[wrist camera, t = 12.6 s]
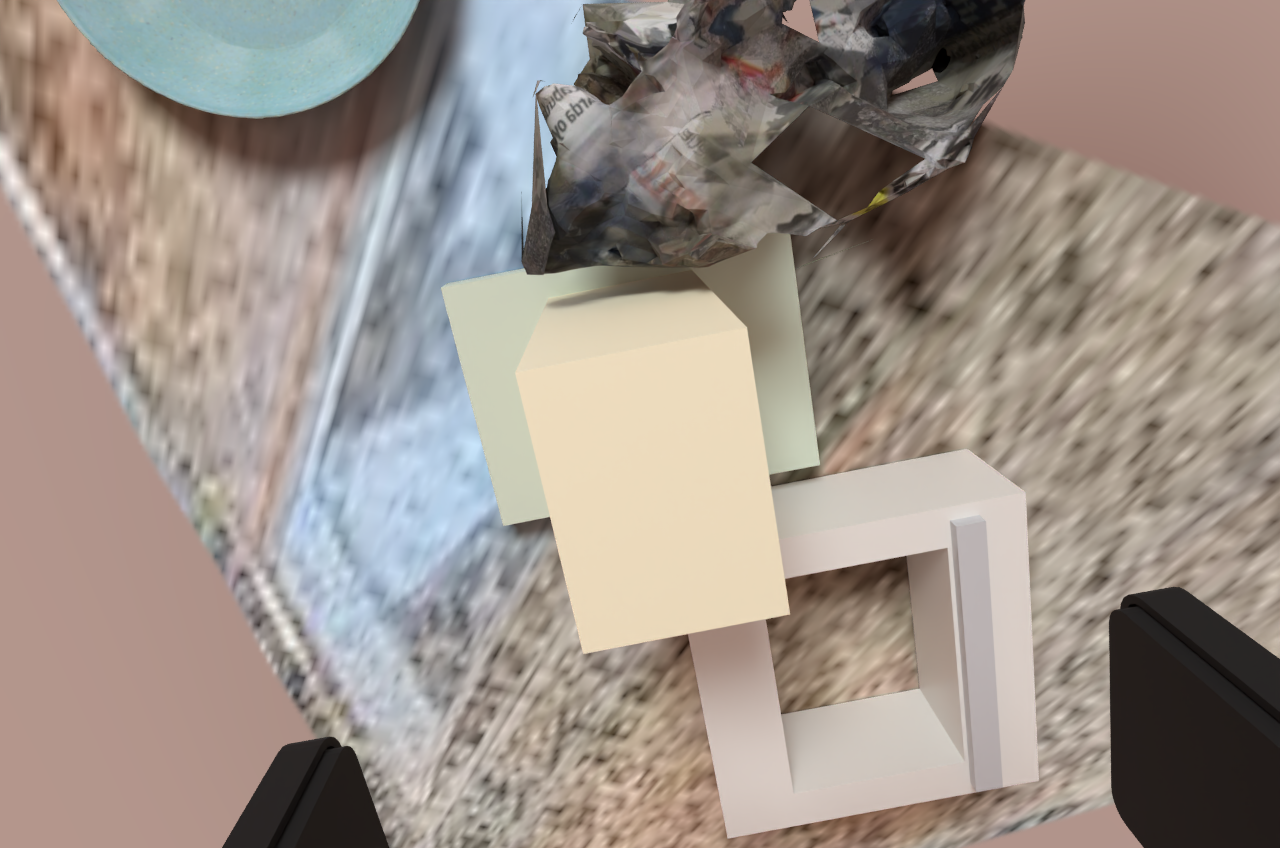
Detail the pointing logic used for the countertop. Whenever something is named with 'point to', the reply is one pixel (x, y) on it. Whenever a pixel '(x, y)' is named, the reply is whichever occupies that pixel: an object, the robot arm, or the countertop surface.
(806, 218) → the foil
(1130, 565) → the countertop surface
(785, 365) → the pad
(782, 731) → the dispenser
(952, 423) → the countertop surface
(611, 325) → the cream rectangular block
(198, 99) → the saucer
